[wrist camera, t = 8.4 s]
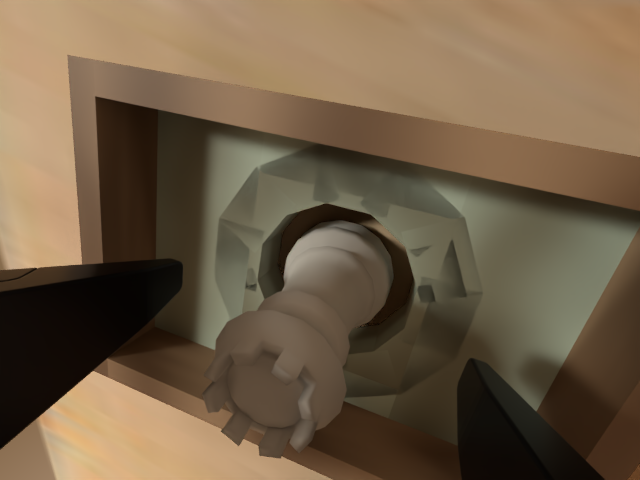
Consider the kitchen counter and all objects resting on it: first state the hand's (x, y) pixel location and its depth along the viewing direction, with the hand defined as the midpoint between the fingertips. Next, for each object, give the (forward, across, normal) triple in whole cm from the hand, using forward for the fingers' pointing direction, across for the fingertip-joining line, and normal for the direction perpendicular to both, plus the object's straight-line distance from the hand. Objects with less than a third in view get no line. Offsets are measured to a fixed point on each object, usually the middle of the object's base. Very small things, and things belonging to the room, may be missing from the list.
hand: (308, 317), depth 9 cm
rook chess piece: (+5, 0, 0) cm, 5 cm away
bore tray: (+5, 0, 0) cm, 5 cm away
